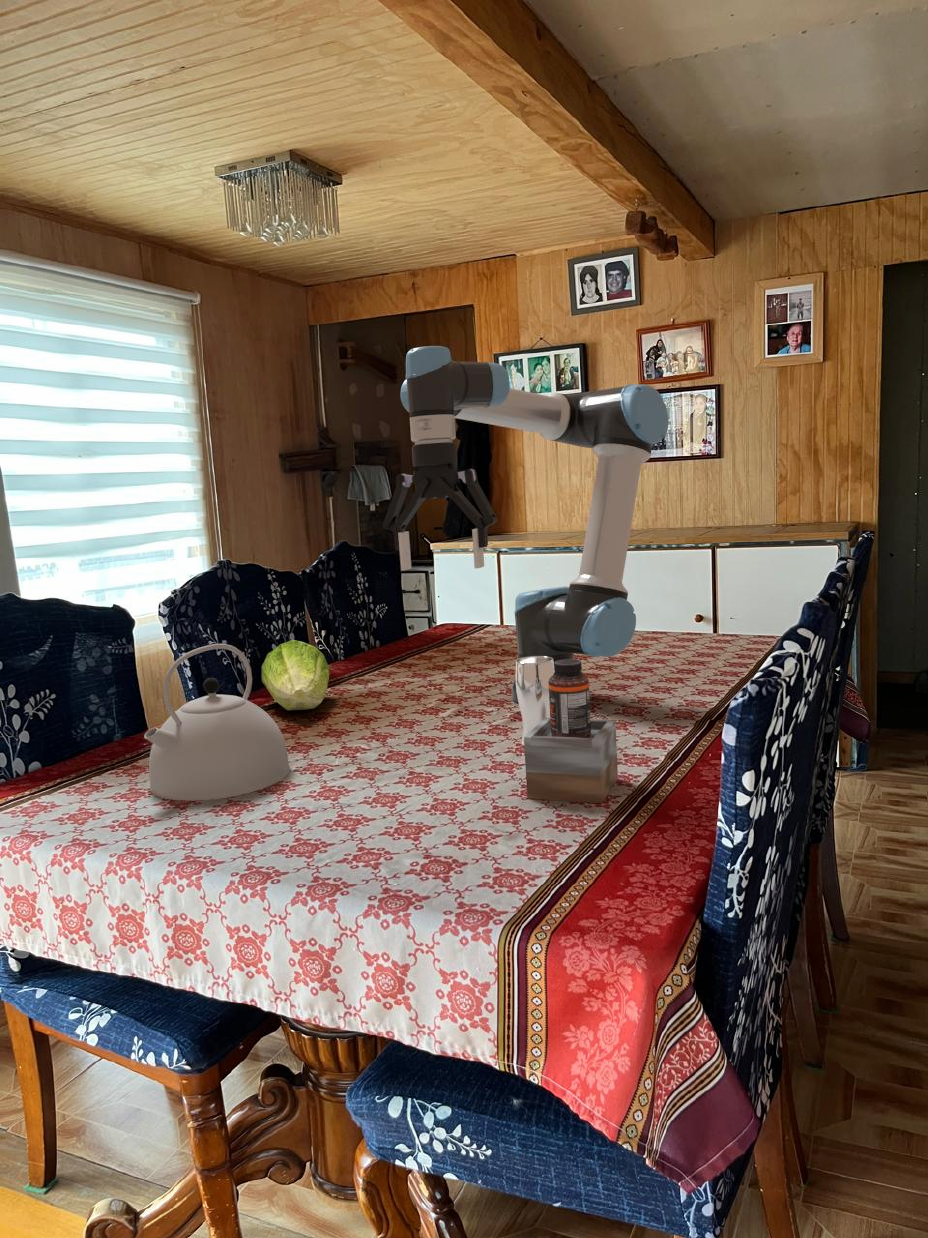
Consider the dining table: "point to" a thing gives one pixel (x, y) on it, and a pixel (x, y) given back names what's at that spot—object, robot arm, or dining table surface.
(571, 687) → the supplement bottle
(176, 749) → the kettle
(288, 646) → the lettuce
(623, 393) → the robot arm
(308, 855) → the dining table surface
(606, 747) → the wooden box
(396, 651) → the dining table surface
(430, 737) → the dining table surface
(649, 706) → the dining table surface
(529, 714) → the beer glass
